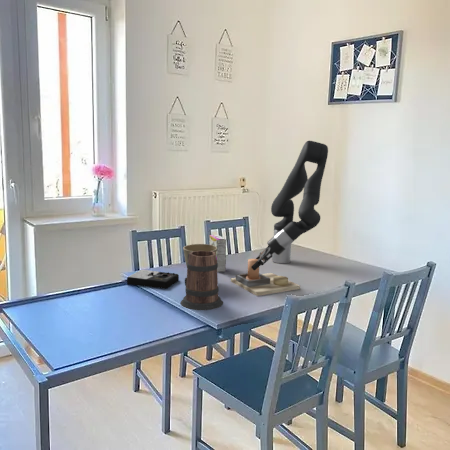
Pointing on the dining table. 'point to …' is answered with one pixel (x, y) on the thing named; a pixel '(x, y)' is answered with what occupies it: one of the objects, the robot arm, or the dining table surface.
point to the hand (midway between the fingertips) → (253, 266)
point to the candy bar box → (219, 251)
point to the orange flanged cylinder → (252, 273)
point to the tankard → (202, 282)
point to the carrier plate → (265, 284)
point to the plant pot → (197, 249)
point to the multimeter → (153, 279)
